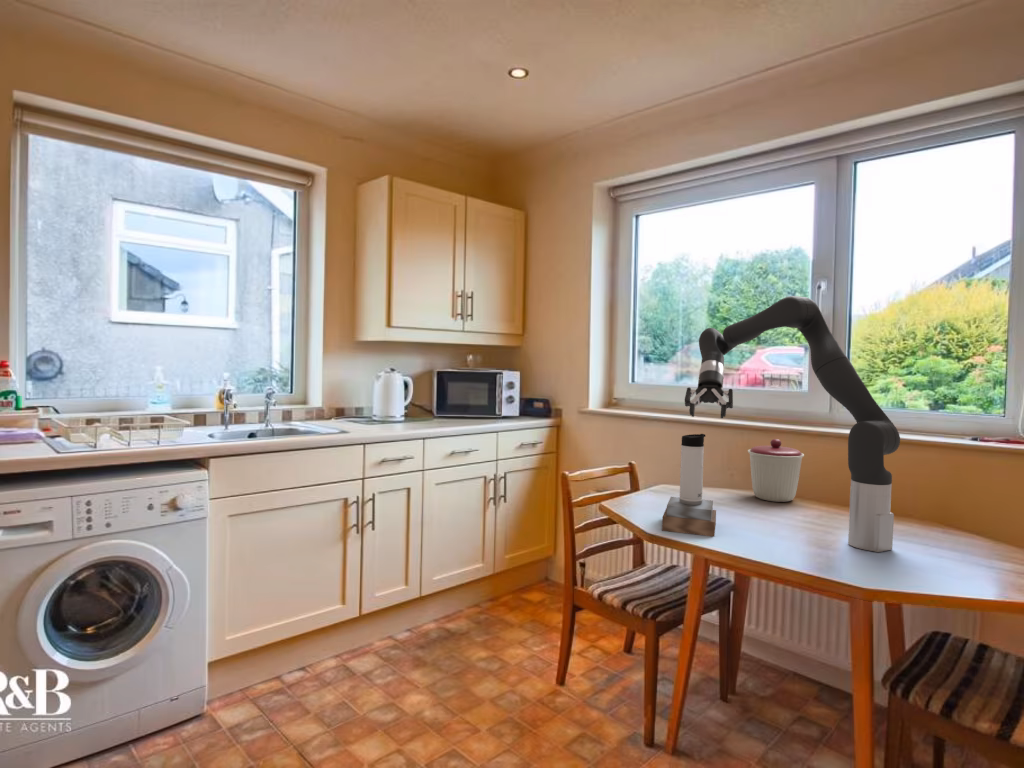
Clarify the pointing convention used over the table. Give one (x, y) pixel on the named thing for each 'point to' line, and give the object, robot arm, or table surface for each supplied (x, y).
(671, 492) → the table surface
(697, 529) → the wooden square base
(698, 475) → the travel mug
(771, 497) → the canister
